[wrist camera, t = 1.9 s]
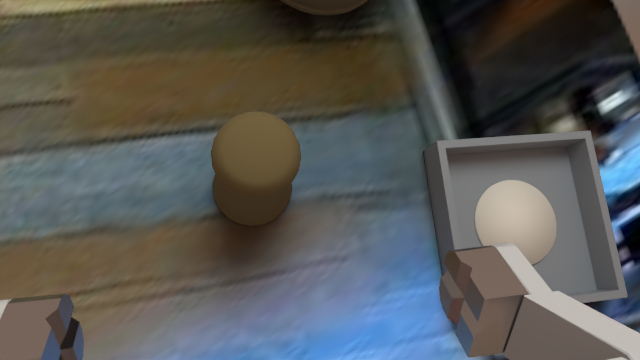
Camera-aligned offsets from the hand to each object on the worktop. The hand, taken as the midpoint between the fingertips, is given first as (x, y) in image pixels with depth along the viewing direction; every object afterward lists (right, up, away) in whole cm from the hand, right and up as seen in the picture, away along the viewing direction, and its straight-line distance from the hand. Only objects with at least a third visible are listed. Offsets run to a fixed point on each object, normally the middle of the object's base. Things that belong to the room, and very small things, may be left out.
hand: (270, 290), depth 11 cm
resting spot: (+17, -1, +29) cm, 34 cm away
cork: (-4, +2, +27) cm, 28 cm away
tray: (+17, -1, +30) cm, 34 cm away
